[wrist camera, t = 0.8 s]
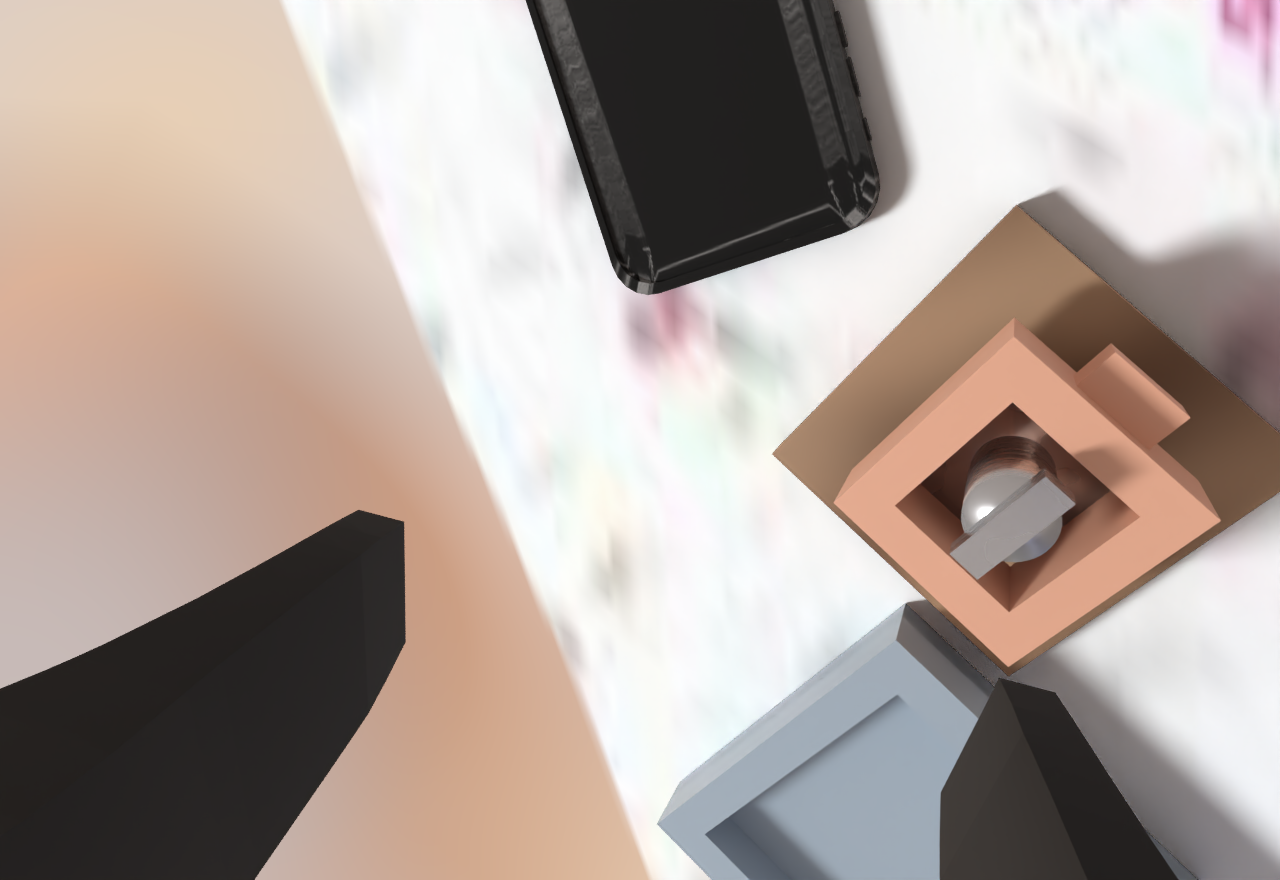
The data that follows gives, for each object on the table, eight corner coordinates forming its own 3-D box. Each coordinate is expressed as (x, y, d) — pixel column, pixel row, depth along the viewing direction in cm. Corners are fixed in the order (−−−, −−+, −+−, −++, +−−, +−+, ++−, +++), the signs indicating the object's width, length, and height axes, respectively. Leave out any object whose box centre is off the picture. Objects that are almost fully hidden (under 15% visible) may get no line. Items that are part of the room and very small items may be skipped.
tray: (1201, 883, 24) (1217, 945, 22) (913, 1017, 29) (906, 1077, 27) (905, 603, 25) (895, 640, 23) (679, 782, 30) (656, 823, 28)
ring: (1238, 451, 19) (1266, 488, 17) (1009, 616, 22) (1008, 666, 20) (1048, 285, 19) (1052, 300, 17) (851, 469, 22) (833, 502, 20)
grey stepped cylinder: (1151, 462, 21) (1184, 539, 16) (1010, 569, 23) (1008, 661, 18) (1014, 340, 21) (1012, 385, 17) (887, 456, 23) (858, 521, 19)
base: (1306, 456, 20) (1316, 466, 19) (1008, 661, 24) (1008, 676, 24) (1016, 204, 21) (1016, 205, 20) (778, 446, 25) (771, 454, 24)
